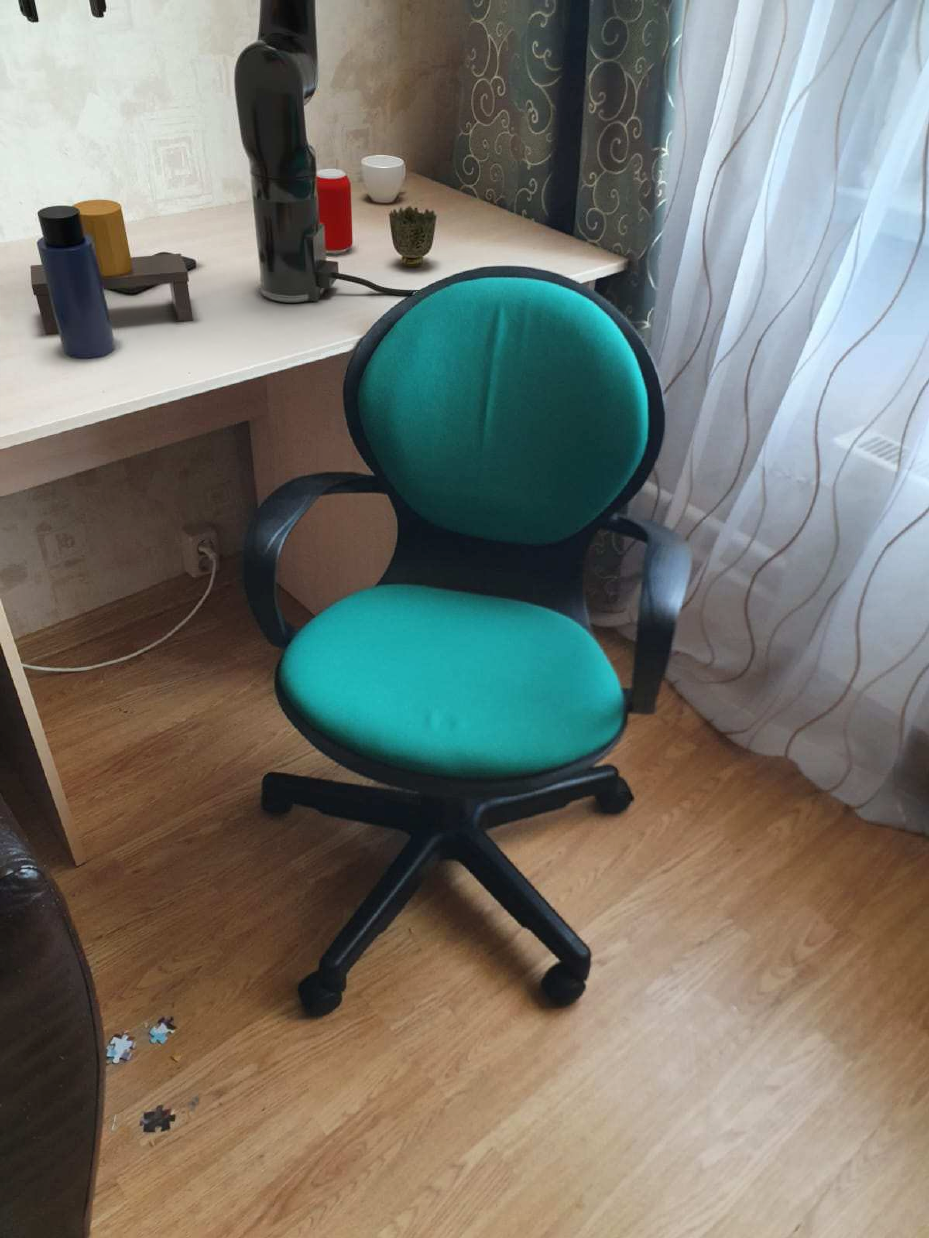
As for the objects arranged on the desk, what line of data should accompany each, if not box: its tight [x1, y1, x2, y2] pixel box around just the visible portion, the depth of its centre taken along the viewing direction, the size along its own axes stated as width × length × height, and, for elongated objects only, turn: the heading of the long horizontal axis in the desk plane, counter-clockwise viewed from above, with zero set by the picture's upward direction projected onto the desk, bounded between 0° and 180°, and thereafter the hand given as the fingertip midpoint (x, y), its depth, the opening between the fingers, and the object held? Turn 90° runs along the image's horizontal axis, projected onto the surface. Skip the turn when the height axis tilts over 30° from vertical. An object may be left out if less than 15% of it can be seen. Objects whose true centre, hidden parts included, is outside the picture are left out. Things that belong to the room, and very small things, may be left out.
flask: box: [36, 205, 116, 360], centre depth 121 cm, size 7×7×18 cm
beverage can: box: [317, 168, 354, 255], centre depth 154 cm, size 6×6×12 cm
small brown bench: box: [30, 253, 194, 336], centre depth 132 cm, size 20×7×7 cm, turn 110°
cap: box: [71, 199, 133, 277], centre depth 127 cm, size 6×6×8 cm
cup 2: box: [388, 205, 437, 268], centre depth 152 cm, size 8×7×8 cm
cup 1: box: [360, 154, 407, 204], centre depth 177 cm, size 8×10×7 cm
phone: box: [112, 251, 197, 294], centre depth 146 cm, size 7×1×15 cm
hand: (66, 19), depth 121 cm, fingers open, 8 cm apart
